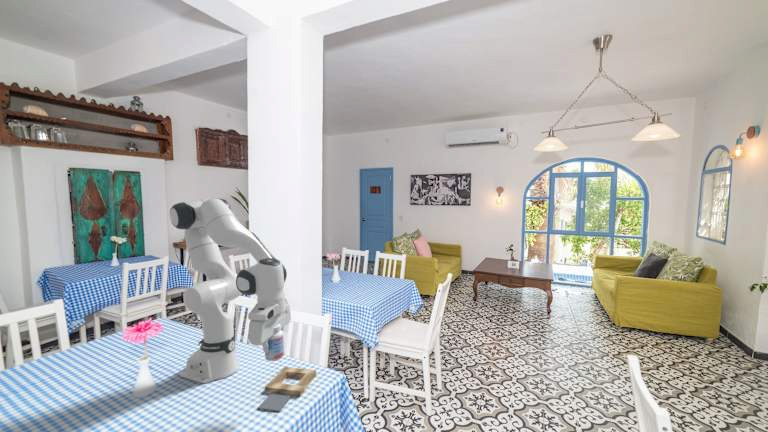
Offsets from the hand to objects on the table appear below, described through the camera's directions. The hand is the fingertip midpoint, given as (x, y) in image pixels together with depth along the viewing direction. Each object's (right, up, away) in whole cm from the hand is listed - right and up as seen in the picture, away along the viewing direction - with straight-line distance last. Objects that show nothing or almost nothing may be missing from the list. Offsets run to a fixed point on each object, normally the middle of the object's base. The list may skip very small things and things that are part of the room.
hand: (272, 345), depth 107 cm
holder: (+3, -20, +13) cm, 24 cm away
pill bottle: (+1, -4, 0) cm, 4 cm away
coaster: (0, -21, +1) cm, 21 cm away
